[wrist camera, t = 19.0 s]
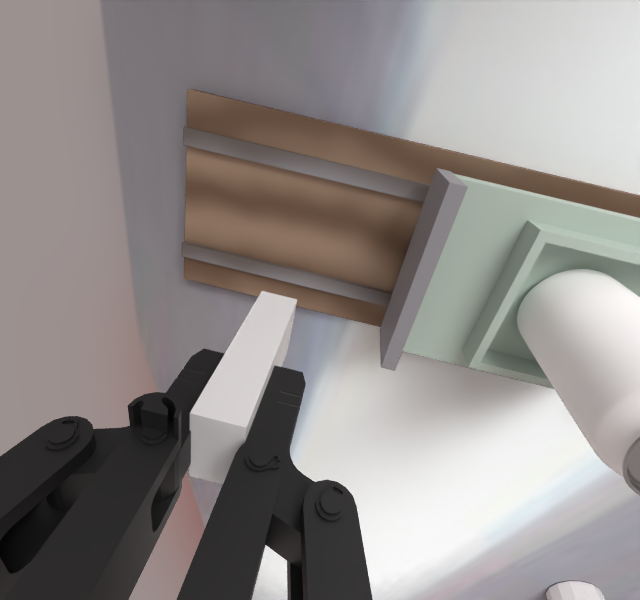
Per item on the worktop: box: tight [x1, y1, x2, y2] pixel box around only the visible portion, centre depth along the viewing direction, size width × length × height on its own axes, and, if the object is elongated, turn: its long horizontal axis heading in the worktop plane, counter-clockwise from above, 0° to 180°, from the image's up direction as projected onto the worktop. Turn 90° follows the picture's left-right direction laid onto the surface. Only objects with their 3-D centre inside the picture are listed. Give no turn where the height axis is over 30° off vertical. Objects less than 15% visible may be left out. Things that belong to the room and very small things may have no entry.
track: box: [182, 89, 640, 327], centre depth 28 cm, size 15×41×3 cm, turn 78°
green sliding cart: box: [380, 168, 640, 389], centre depth 25 cm, size 13×18×6 cm
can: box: [517, 269, 640, 495], centre depth 19 cm, size 6×6×12 cm
